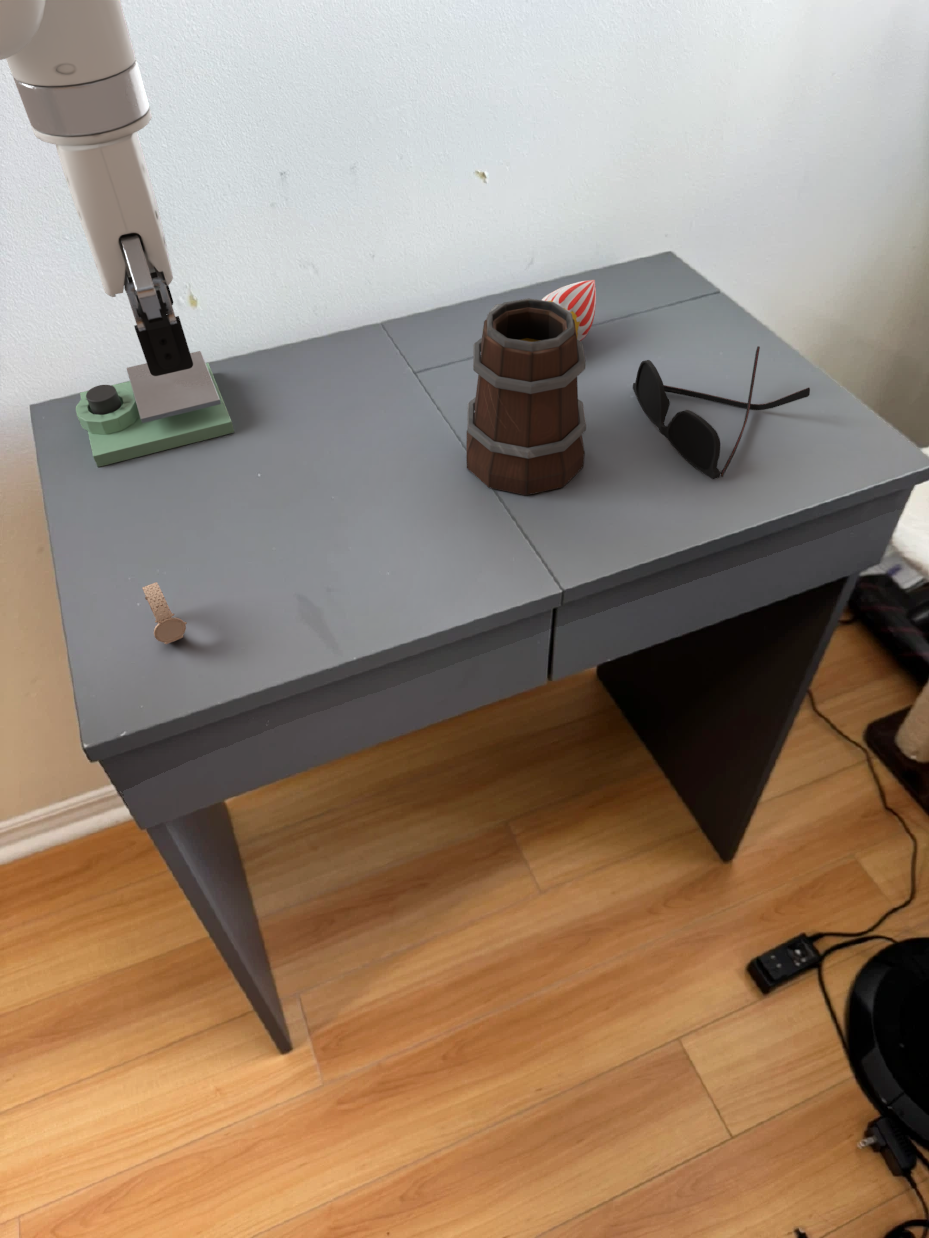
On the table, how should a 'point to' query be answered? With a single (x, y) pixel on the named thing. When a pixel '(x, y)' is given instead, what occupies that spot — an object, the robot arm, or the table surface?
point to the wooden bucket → (526, 399)
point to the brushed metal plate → (172, 390)
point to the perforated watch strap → (163, 616)
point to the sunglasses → (694, 417)
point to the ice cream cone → (577, 304)
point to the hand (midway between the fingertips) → (163, 338)
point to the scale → (147, 427)
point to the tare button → (103, 399)
